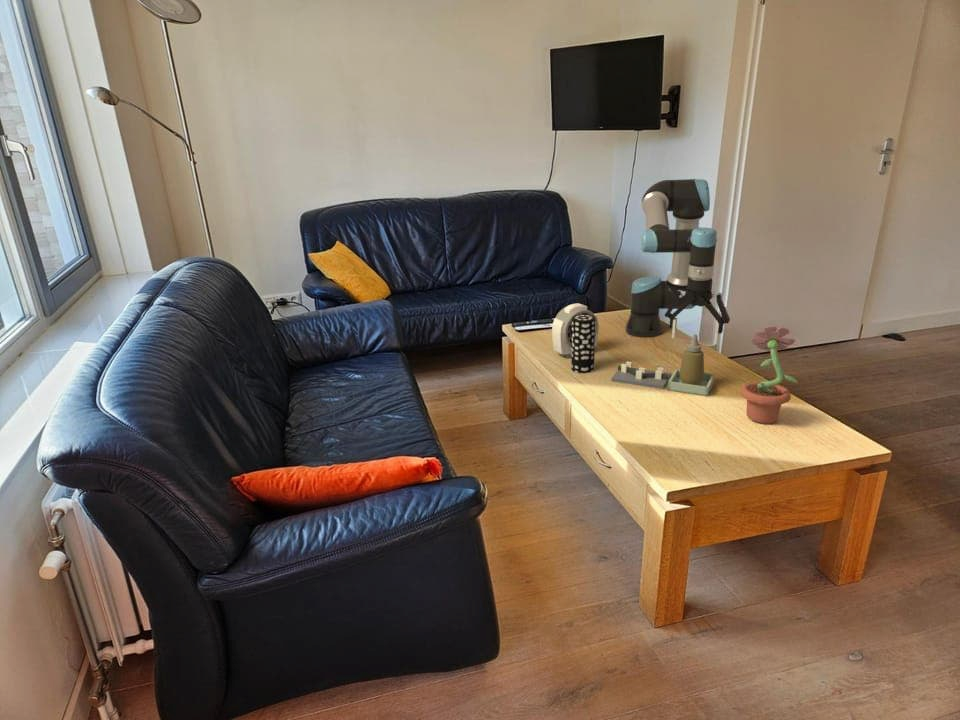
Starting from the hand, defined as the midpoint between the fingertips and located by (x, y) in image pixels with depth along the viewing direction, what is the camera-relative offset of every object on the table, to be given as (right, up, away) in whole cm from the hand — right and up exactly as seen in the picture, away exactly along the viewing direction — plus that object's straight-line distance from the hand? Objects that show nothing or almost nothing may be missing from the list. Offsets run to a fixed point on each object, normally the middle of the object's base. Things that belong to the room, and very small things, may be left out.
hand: (694, 339), depth 208 cm
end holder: (+1, -16, +6) cm, 17 cm away
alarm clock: (-34, -5, +39) cm, 52 cm away
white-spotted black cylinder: (-33, -10, +24) cm, 42 cm away
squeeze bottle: (+1, -15, +6) cm, 16 cm away
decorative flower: (+14, -25, -19) cm, 34 cm away
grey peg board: (-14, -13, +13) cm, 24 cm away
